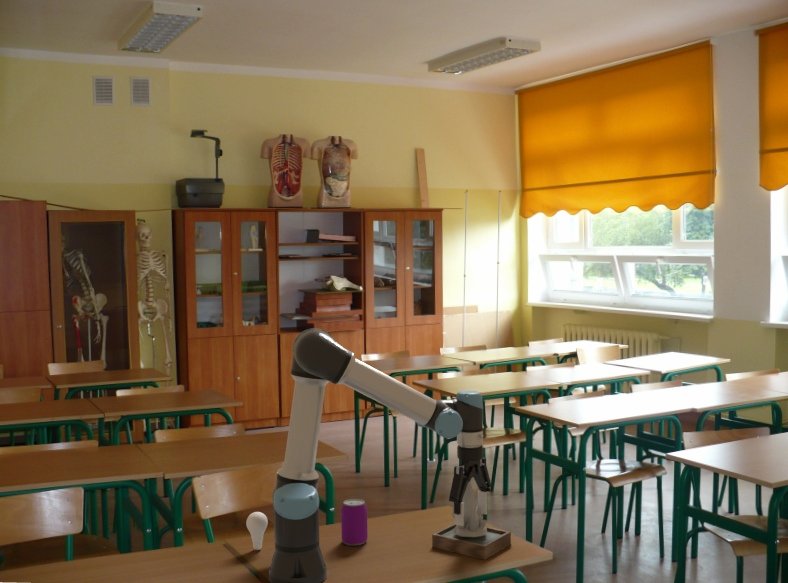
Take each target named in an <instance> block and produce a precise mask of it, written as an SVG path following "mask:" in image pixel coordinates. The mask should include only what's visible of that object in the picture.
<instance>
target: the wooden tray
mask: <svg viewBox="0 0 788 583" xmlns="http://www.w3.org/2000/svg"><path fill="white" fill-rule="evenodd" d="M455 527H456V525H455V522H454V523H451V524H450V525H448V526H446V527H444V528H442V529H440V530H438V531H436V532H434V533H432V534H431V540H432V545H431V546H432V548H436V549H439V550H444V551H447V552H452V553H456V554H460V555H464V556H469V557H471V558H472V557H473V558H477V559H480V560H484V561H486V560H487V559H489V558H490V557H492V556H494V555H495V553H496V554H497V553H500V552H501V551H503V550H504V549H506V548H508V547H510V546H511V545H512V533H511V531H507V530H503V529H499V528H494V527H490V526H486V525H485V526H484V527H486V528H487V534H485V535H483V536H478V537H463V536H459V535H456V534H454V530H453V529H454V528H455ZM500 550H501V551H500Z"/></svg>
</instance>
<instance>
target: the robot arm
mask: <svg viewBox="0 0 788 583" xmlns="http://www.w3.org/2000/svg"><path fill="white" fill-rule="evenodd" d="M290 376H291V377H292V379H293V381H294V387H293V395H292V401H291V402H292V403H291V408H290V416H289V417H290V418H289V424H288V431H287V432H288V434H287V440H286V447H285V452H284V454H285V455H284V461H283V466H282V467H281V468H279V469H278V470H277V472H276V480H275V486H274V489H273V492H272V505H273V521H274V522H273V523H274V524H273V526H274V527H273V528H274V552H273V555H272V559H271V563H270V566H269V570H268V582H270V583H322V582H323V581H325V580H326V578H327V576H328V574H327V573H328V572H327V570H328V569H327V565H326V562H325V560H324V556H323V554H322V550H321V546H320V512H319V511H320V510H319V507H320V497H319V492H318V486H319V478H320V477H319V476H320V475H319V474H318V472H317V471H316V469H315V467H316V459H317V453H318V452H317V451H318V444H319V439H320V438H319V437H320V430H321V422H322V415H323V408H324V407H323V406H324V400H325V394H326V392H325V391H326V385H328V383H331V384H334V385H345V386H347V387H348V388H350V389H352V390H354V391H356V392H358V393H360V394H362V395H363V396H365V397H367V398H369V399H372V400H374V401H376V402H377V403H378V404H381V405H383V406H385V407H387V408H388V409H391V410H393V411H394V412H397V413H399V414H400V415H403V416H405V417H406V418H408V419H410V420H412V421H414V422H416V425H417V426H418V427H420V428H427V429H430V430H431V431H433V432H435V433H437V435H439V436H440V437H442V438H444V439H453V438H456V443H457V447H456V449H457V450H456V454H457V456H456V458H457V459H459V461H460V465H459V466H457V465H455V466H454V467H453V479H452V483H451V487H450V492H449V498H448V502H451V503H453V508H454V518H453V519H454V523H455V525H460V526H464V503H463V497H464V494H465V491H466V488H467V485H468V482H469V481H470V482H471V480H472V479H474V481H475V483H476V486H477V488H478V491H477V505H478V507H479V509H480V515H481V514H482V515H488V492H491V487H492V482H491V479H490V474H489V470H488V466H487V458H485V457H484V446H483V444H484V431H483V430H484V423H483V422H484V411H483V410H484V405H483V404H484V402H483V394H482V393H481V392H479V391H476V390H461V391H458V392H456V397H455V398H452V399H433V398H432V397H430V396H428V395H426V394H424V393H423V392H420V391H418V390H417V389H414V388H412V386H410V385H407V384H405V383H403V382H402V381H400V380H398V379H397V378H394V377H392V376H390V375H388V374H387V373H384V372H382V371H381V370H379V369H377V368H375V367H373V366H371V365H369V364H367V363H365V362H364V361H362V360H360V359H358V358H356V357H355V354H354V352H353V351H351V350H349V349H347V348H346V347H344V346H342V345H341V344H340V343H339V342H337V341H336V340H335V339H334V338H333V336H332V335H331V333H329V332H327V331H326V330H325V329H321V328H316V327H315V328H314V327H312V328H308V329H306V330H303V331H302V332H300V333H299V334H298V335H297V337H296V338H295V339H294V341H293V344H292V360H291V369H290Z"/></svg>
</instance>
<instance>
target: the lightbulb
mask: <svg viewBox="0 0 788 583" xmlns="http://www.w3.org/2000/svg"><path fill="white" fill-rule="evenodd" d="M245 523H246V524H245V525H246V528H247V530H248V532H249V533H250V536H251V541H252V547H253V549H255V551H259V550H260V549H262V548H263V542H264V534H265V531H266V530H267V528H268V525H269V524H268V523H269V522H268V517H267V516H266V514H264V513H263V512H260V511H254V512H252V513H250V514H249V515H248V517H247V518H246V522H245Z"/></svg>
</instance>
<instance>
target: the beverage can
mask: <svg viewBox="0 0 788 583" xmlns="http://www.w3.org/2000/svg"><path fill="white" fill-rule="evenodd" d="M342 503H343V504H342V507H341V510H340V517H341V518H340V521H341V522H340V523H341V524H340V525H341V526H340V528H341V541H342V542H343V544H345V545H347V546H351V547H355V546H357V545H358V546H362V545H364V544H365V543H366V542H368V537H369V536H368V531H369V530H368V508H367V505H366V502H365V500H363V499H361V498H360V499H359V498H349V499H345V500H344V501H343V502H342ZM361 544H362V545H361Z"/></svg>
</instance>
